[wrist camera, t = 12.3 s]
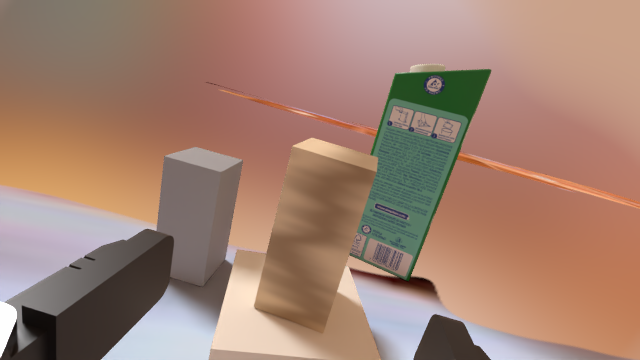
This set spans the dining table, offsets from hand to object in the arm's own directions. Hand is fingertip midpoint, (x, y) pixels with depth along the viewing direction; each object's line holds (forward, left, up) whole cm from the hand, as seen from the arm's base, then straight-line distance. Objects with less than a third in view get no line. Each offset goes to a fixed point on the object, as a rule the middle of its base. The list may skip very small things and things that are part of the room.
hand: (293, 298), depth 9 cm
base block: (0, +11, -13) cm, 17 cm away
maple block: (0, +11, -8) cm, 14 cm away
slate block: (-11, +17, -13) cm, 24 cm away
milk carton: (+9, +31, -13) cm, 35 cm away
